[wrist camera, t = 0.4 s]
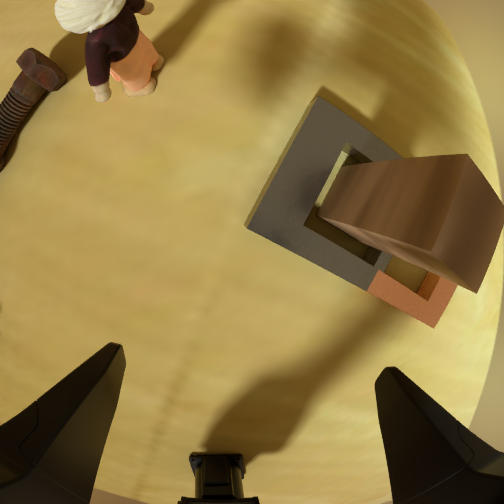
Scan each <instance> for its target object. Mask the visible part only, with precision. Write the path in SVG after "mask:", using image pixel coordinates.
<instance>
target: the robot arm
mask: <svg viewBox="0 0 504 504" xmlns="http://www.w3.org/2000/svg"><path fill="white" fill-rule="evenodd" d="M125 367H126V360H125V355H124V350H123V346H122V345H121V344H117V343H113V342H110V343H108V344H107V345H105V346H104V347H103V348H102V349H100V350H99V351H98V352H96V353H95V354H94V355H93V356H91V357H90V358H89V359H87V360H86V361H85V362H84V363H82V364H81V365H80V366H79V367H77V368H76V369H75V370H73V371H72V372H71V373H70V374H68V375H67V376H66V377H65V378H63V379H62V380H61V381H60V382H58V383H57V384H56V385H55V386H53V387H52V388H51V389H50V390H48V391H47V392H46V393H45V394H43V395H42V396H41V397H40V398H38V399H37V401H34V402H33V403H32V404H31V405H30V406H28V407H27V408H26V409H24V410H23V411H22V412H20V413H19V414H18V415H16V416H15V417H13V418H12V419H10V420H9V421H7V422H6V423H4V424H2V425H1V426H0V504H90V499H91V495H92V491H93V487H94V483H95V479H96V475H97V471H98V467H99V464H100V460H101V456H102V453H103V449H104V446H105V443H106V439H107V436H108V433H109V430H110V426H111V423H112V420H113V417H114V414H115V411H116V407H117V404H118V399H119V394H120V389H121V385H122V380H123V376H124V372H125ZM375 393H376V401H377V410H378V418H379V424H380V429H381V434H382V439H383V444H384V449H385V454H386V460H387V466H388V472H389V478H390V485H391V492H392V499H393V504H504V453H503V452H499V451H497V450H496V449H494V448H493V447H491V446H490V445H488V444H487V443H486V442H484V441H483V440H481V439H480V438H479V437H477V436H476V435H475V434H473V433H472V432H471V431H469V430H468V429H467V428H466V427H465V426H464V425H462V424H461V423H460V422H459V421H458V420H456V418H454V417H453V416H452V415H451V414H450V413H449V412H447V411H446V410H445V409H444V408H443V407H442V406H441V405H439V404H438V403H437V402H436V401H435V400H434V399H433V398H431V397H430V396H429V395H428V394H427V393H426V392H424V391H423V390H422V389H421V388H420V387H419V386H418V385H416V384H415V383H414V382H413V381H412V380H411V379H409V378H408V377H407V376H406V375H405V374H404V373H402V372H401V371H400V370H399V369H398V368H397V367H394V366H393V367H386V368H384V369H383V371H382V372H381V374H380V375H379V377H378V378H377V379H376V381H375ZM189 461H190V464H191V467H192V470H193V473H194V476H195V498H188V497H183V496H182V497H181V501H178V504H260V503H259V500H258V496H257V497H252V498H244V493H243V485H242V479H244V469H243V456H242V455H241V454H235V455H191V456H189Z"/></svg>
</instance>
